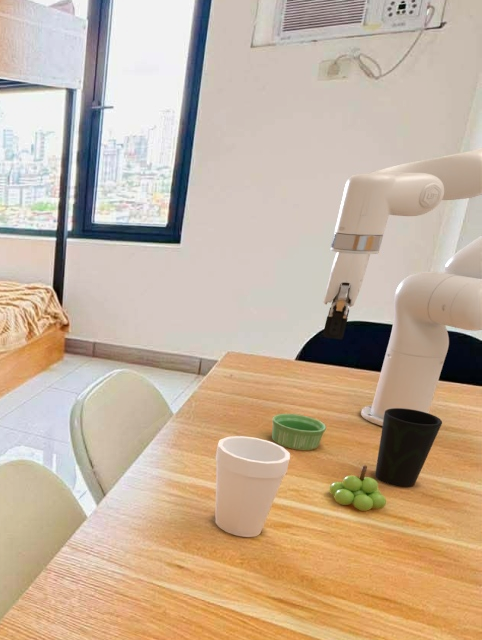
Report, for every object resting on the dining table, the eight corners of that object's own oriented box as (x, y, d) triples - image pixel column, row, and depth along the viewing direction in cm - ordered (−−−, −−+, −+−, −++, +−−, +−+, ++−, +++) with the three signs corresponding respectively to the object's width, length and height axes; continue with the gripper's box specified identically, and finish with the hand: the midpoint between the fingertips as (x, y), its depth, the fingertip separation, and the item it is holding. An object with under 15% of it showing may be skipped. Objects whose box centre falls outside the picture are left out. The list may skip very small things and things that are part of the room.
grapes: (323, 488, 107) (332, 453, 105) (371, 494, 105) (381, 458, 103) (338, 510, 100) (348, 473, 98) (389, 517, 98) (401, 479, 96)
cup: (432, 492, 105) (453, 426, 101) (381, 488, 107) (399, 423, 103) (407, 471, 112) (425, 409, 108) (359, 468, 114) (376, 406, 110)
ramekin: (287, 430, 130) (291, 410, 129) (331, 446, 123) (336, 425, 121) (258, 438, 127) (262, 418, 125) (302, 455, 119) (307, 434, 117)
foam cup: (266, 515, 99) (283, 440, 95) (279, 547, 91) (297, 467, 86) (201, 506, 102) (213, 433, 98) (207, 536, 94) (221, 458, 89)
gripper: (334, 238, 125) (314, 322, 131) (329, 246, 112) (307, 339, 118) (380, 241, 121) (357, 327, 127) (380, 249, 108) (355, 345, 114)
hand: (333, 332), depth 122 cm, fingers open, 9 cm apart
